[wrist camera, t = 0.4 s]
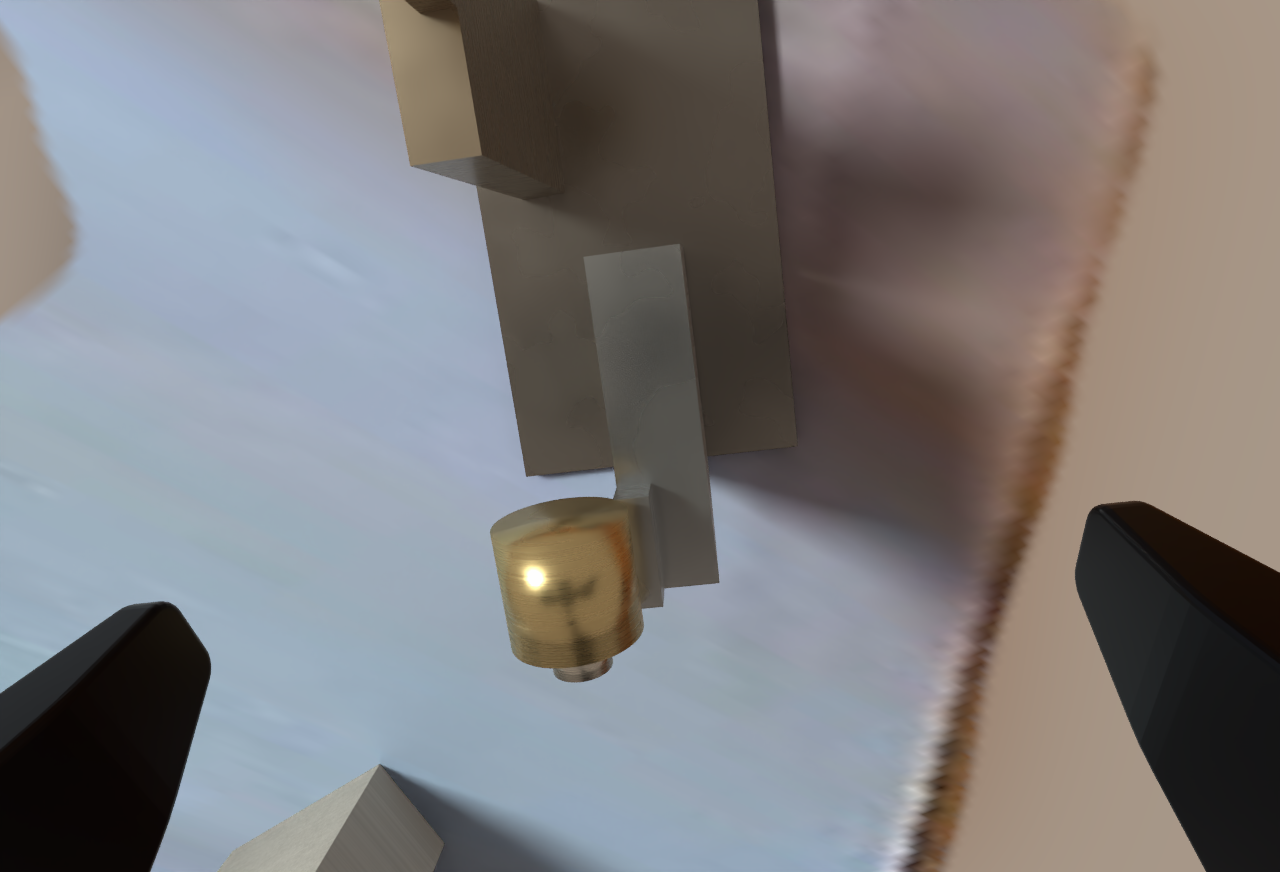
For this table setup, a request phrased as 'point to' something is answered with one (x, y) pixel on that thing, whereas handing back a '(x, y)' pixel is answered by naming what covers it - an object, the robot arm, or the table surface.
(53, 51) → the table surface
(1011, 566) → the table surface
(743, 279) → the hinge base
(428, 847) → the tea bag
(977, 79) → the table surface
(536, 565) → the brass-capped grey pillar
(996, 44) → the table surface
